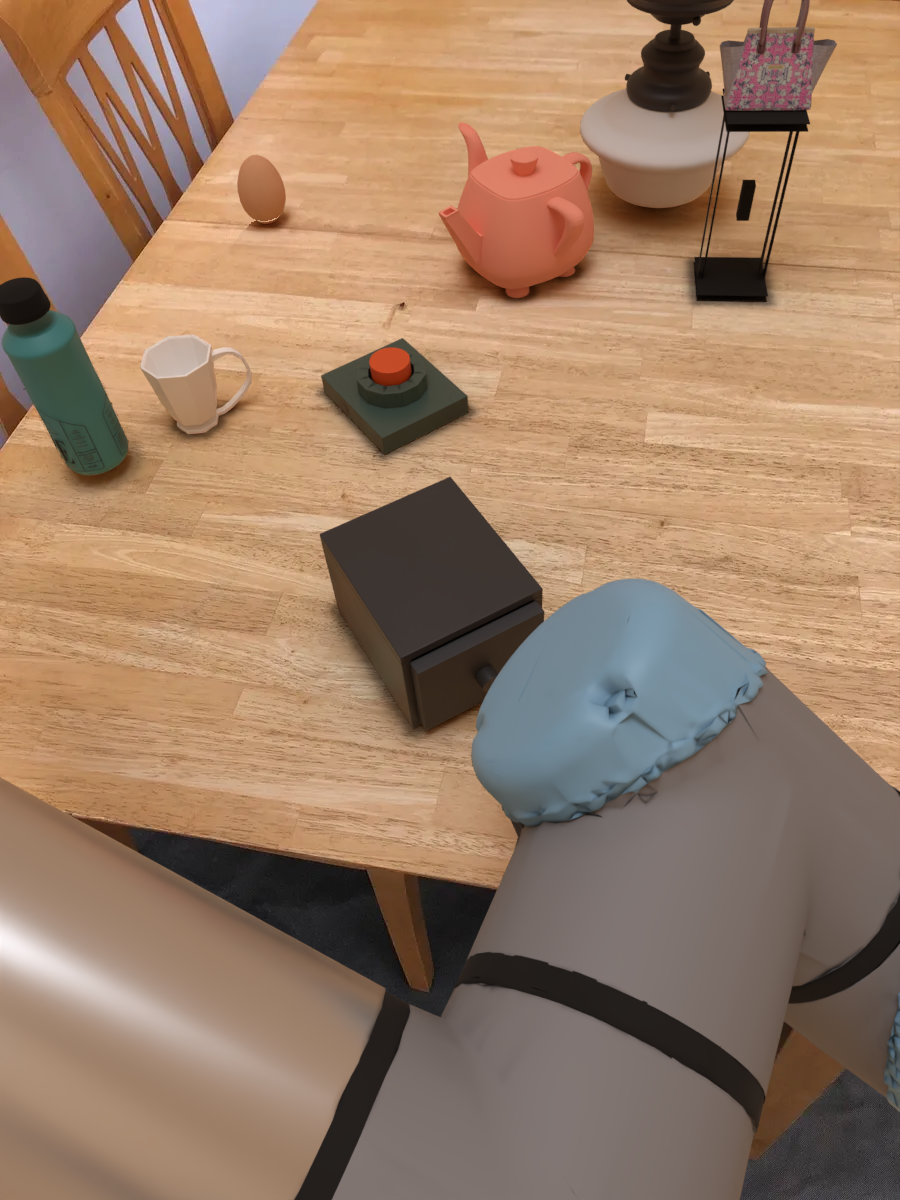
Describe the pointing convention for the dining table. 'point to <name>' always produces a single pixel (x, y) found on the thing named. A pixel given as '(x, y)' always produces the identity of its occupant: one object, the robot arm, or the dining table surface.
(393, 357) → the button
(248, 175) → the egg
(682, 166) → the light fixture
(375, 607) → the cabinet
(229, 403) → the cup
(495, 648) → the drawer
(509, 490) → the dining table surface
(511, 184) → the teapot
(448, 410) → the button block
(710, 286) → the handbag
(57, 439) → the beverage bottle
